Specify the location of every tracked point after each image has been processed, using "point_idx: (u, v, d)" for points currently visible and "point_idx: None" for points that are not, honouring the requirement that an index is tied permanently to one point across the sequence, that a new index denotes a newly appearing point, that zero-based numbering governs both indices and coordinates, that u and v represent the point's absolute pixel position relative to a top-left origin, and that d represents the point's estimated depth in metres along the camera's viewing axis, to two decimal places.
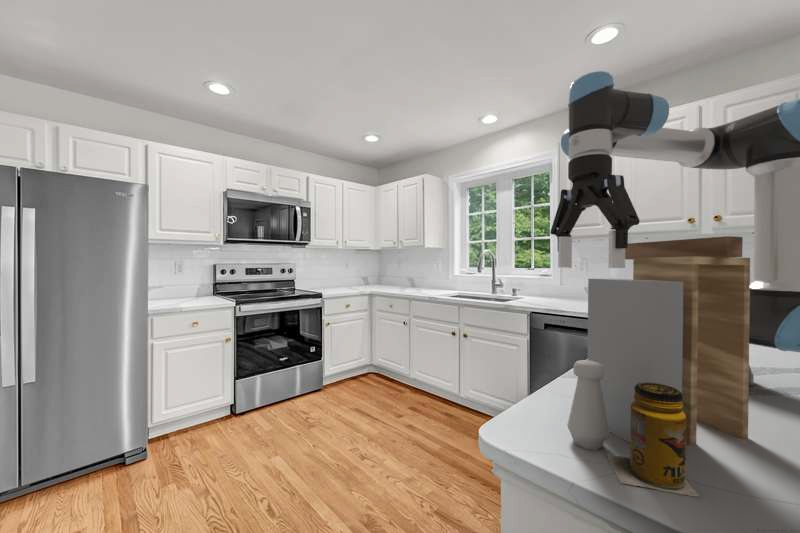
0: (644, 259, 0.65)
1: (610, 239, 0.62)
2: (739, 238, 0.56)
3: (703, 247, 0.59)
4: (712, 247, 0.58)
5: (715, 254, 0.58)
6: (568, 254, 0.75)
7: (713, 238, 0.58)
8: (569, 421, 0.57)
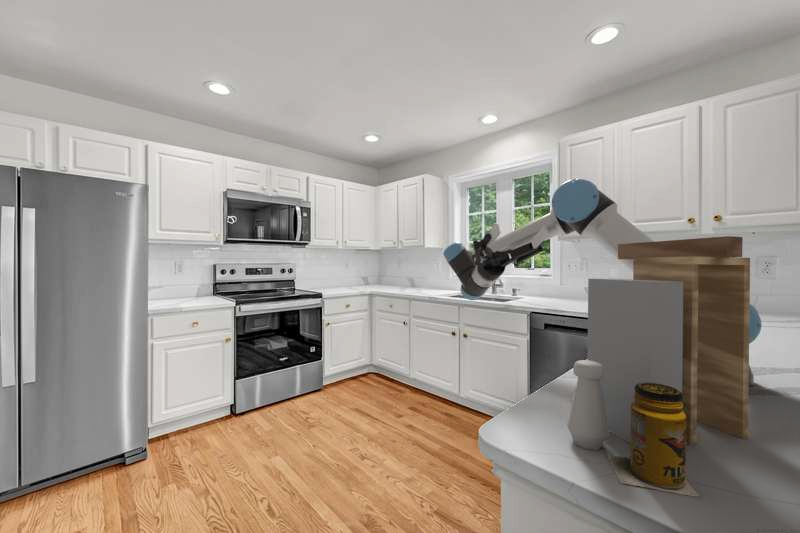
0: (644, 259, 0.65)
1: (491, 243, 0.93)
2: (739, 238, 0.56)
3: (703, 247, 0.59)
4: (712, 247, 0.58)
5: (715, 254, 0.58)
6: (538, 234, 0.95)
7: (713, 238, 0.58)
8: (569, 421, 0.57)
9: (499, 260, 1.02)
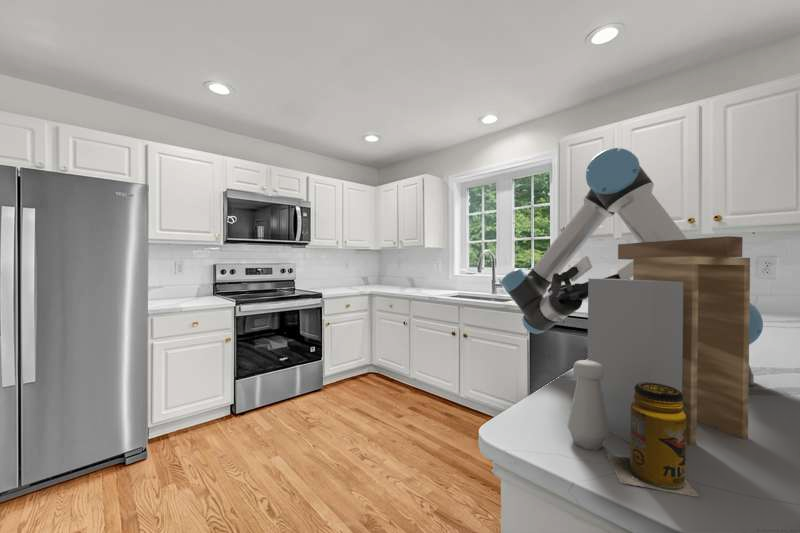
0: (644, 259, 0.65)
1: (577, 278, 0.80)
2: (739, 238, 0.56)
3: (703, 247, 0.59)
4: (712, 247, 0.58)
5: (715, 254, 0.58)
6: (630, 266, 0.82)
7: (713, 238, 0.58)
8: (569, 421, 0.57)
9: (578, 293, 0.89)
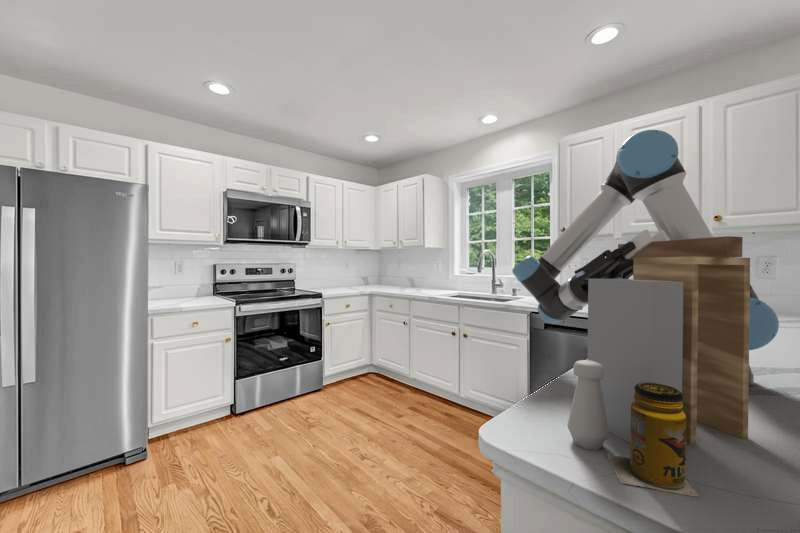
0: (644, 259, 0.65)
1: (633, 254, 0.72)
2: (739, 238, 0.56)
3: (703, 247, 0.59)
4: (712, 247, 0.58)
5: (715, 254, 0.58)
6: None
7: (713, 238, 0.58)
8: (569, 421, 0.57)
9: None
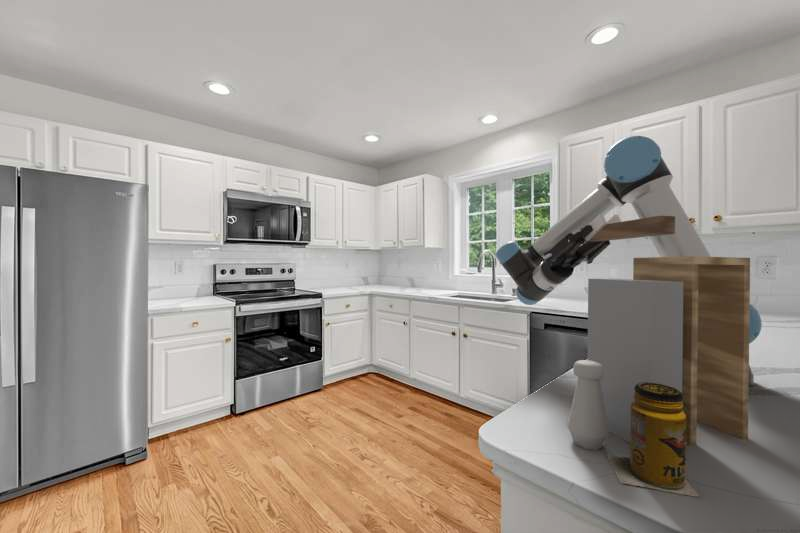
0: (644, 259, 0.65)
1: (591, 236, 0.81)
2: (672, 217, 0.65)
3: (643, 226, 0.68)
4: (650, 225, 0.67)
5: (652, 232, 0.66)
6: None
7: (650, 218, 0.67)
8: (569, 421, 0.57)
9: (569, 260, 0.91)
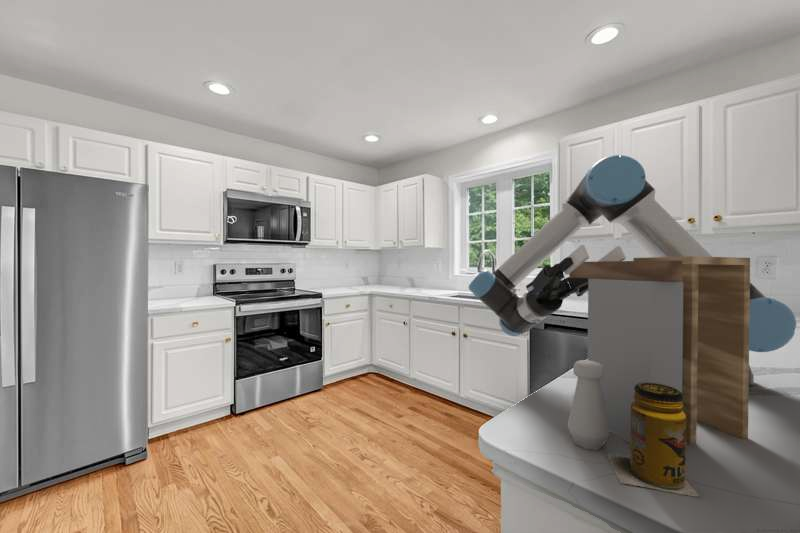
0: (644, 259, 0.65)
1: (571, 270, 0.70)
2: (678, 262, 0.54)
3: (644, 270, 0.57)
4: (652, 271, 0.55)
5: (654, 279, 0.55)
6: (608, 257, 0.70)
7: (653, 261, 0.55)
8: (569, 421, 0.57)
9: (558, 292, 0.79)
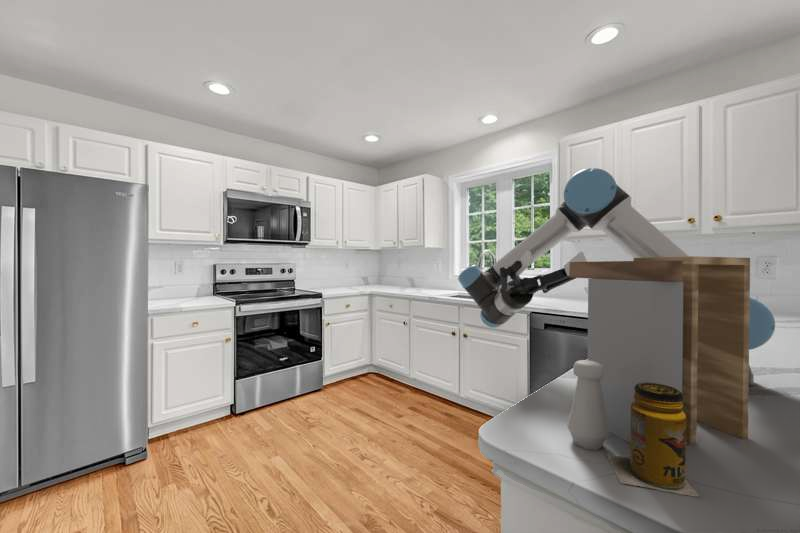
0: (644, 259, 0.65)
1: (521, 272, 0.82)
2: (678, 262, 0.54)
3: (644, 270, 0.57)
4: (652, 271, 0.55)
5: (654, 279, 0.55)
6: (573, 261, 0.84)
7: (653, 261, 0.55)
8: (569, 421, 0.57)
9: (527, 287, 0.91)
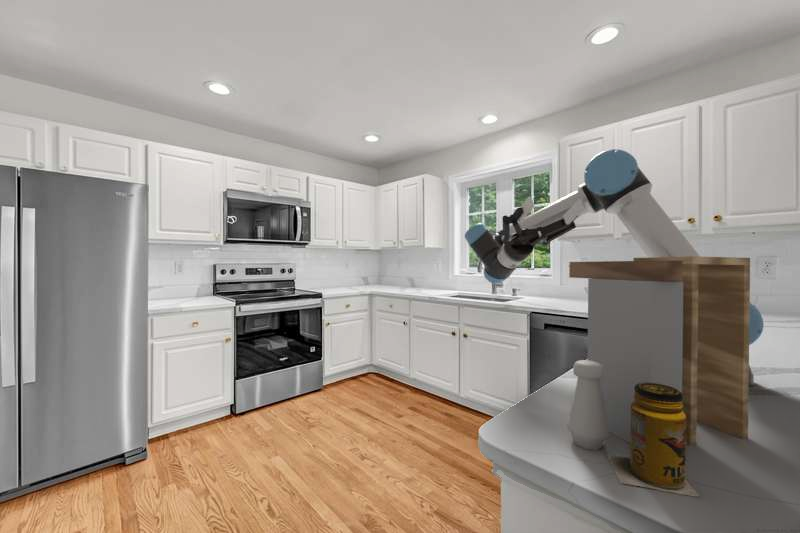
0: (644, 259, 0.65)
1: (522, 218, 0.87)
2: (678, 262, 0.54)
3: (644, 270, 0.57)
4: (652, 271, 0.55)
5: (654, 279, 0.55)
6: (572, 209, 0.89)
7: (653, 261, 0.55)
8: (569, 421, 0.57)
9: (528, 238, 0.96)
